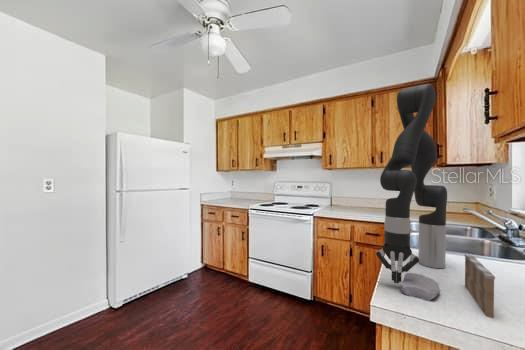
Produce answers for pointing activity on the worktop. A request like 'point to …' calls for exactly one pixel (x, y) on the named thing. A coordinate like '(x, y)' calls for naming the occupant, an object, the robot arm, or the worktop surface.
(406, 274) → the stone block
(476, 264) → the walnut wall board
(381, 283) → the worktop surface
